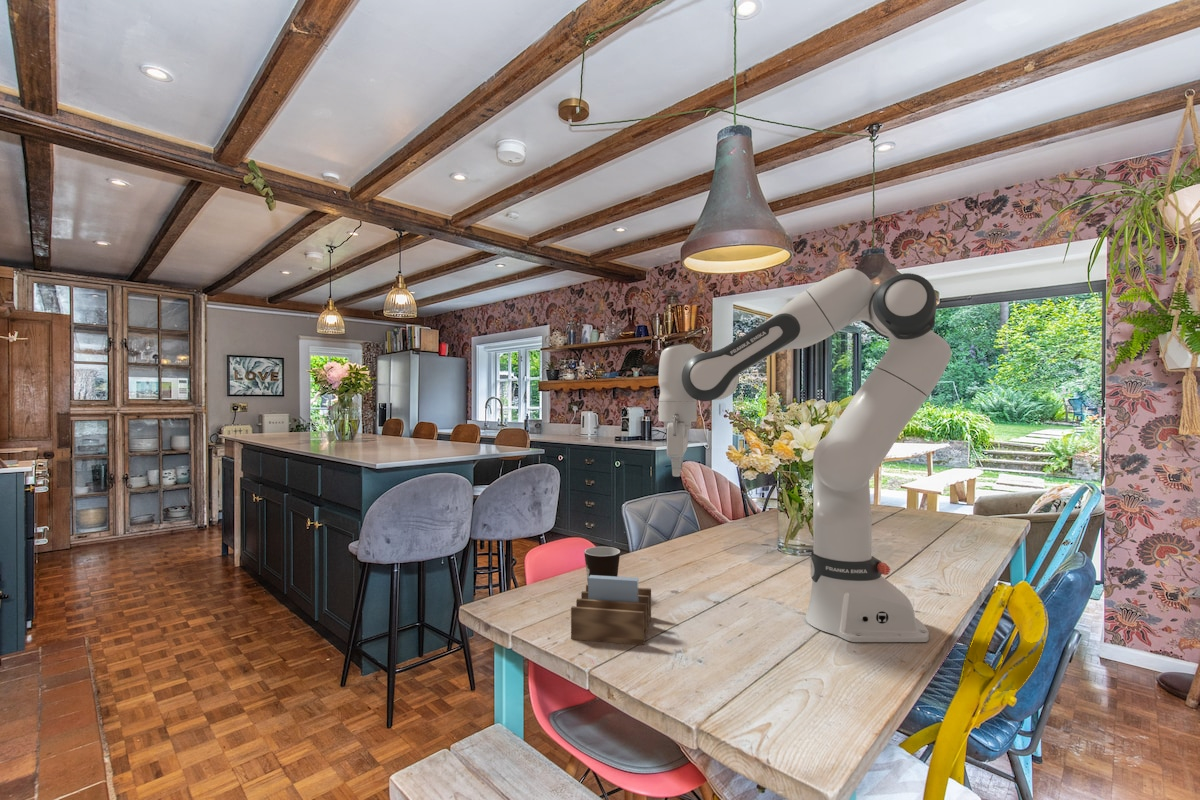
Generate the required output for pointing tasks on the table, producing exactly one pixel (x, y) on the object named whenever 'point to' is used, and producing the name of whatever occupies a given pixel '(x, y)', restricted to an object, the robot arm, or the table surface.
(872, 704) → the table surface
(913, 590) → the table surface
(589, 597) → the upright grey-blue slab
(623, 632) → the walnut rack
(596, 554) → the coffee mug
